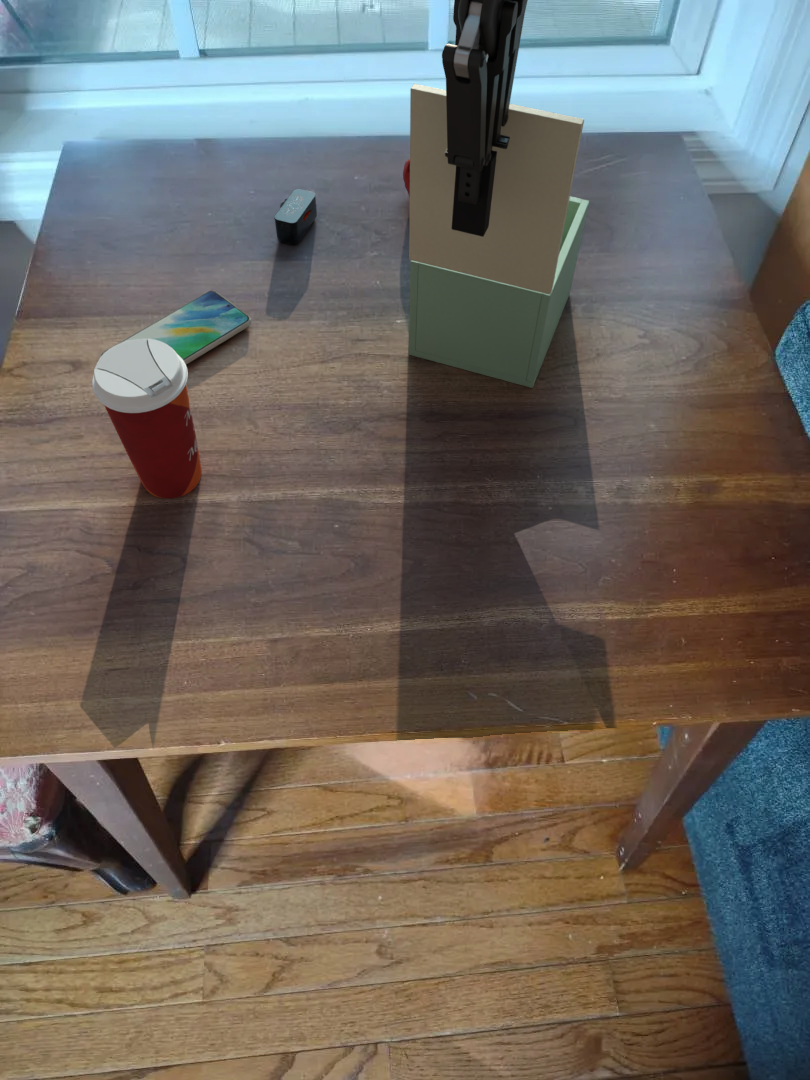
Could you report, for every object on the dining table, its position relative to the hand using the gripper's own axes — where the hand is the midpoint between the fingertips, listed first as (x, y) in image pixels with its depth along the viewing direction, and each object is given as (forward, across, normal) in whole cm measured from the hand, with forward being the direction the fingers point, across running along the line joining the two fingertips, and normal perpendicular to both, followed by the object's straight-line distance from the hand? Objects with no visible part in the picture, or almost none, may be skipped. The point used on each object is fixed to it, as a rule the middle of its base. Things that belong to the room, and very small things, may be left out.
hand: (470, 227), depth 70 cm
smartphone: (+21, +2, -30) cm, 36 cm away
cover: (0, -5, 0) cm, 5 cm away
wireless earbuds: (+21, -21, -27) cm, 40 cm away
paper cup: (+21, +18, -22) cm, 35 cm away
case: (+21, -13, 0) cm, 24 cm away
